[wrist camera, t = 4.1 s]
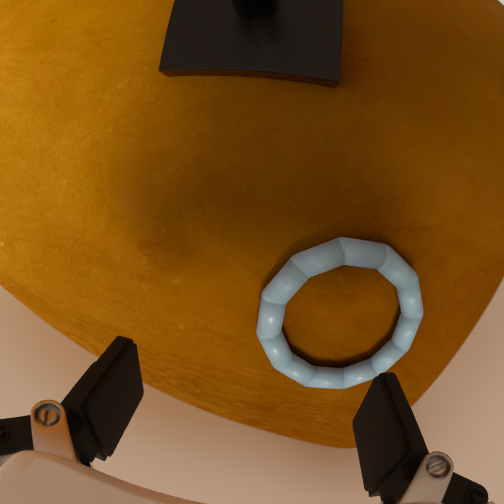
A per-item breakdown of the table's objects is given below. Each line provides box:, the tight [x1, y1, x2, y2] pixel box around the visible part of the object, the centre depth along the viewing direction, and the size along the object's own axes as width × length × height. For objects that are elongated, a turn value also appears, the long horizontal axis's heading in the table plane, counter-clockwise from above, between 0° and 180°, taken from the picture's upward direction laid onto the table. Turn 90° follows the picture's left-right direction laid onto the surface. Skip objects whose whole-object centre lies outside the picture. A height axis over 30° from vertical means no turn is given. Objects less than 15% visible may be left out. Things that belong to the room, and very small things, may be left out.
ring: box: [256, 237, 423, 389], centre depth 15 cm, size 10×10×1 cm
